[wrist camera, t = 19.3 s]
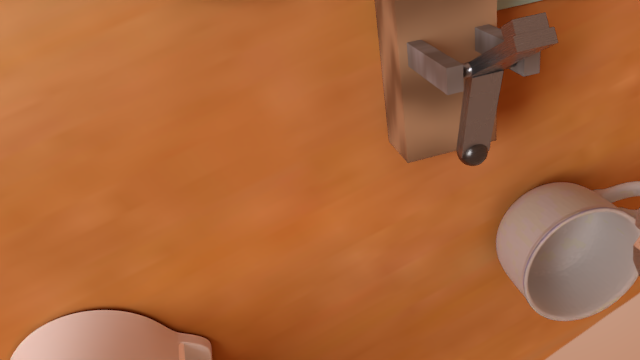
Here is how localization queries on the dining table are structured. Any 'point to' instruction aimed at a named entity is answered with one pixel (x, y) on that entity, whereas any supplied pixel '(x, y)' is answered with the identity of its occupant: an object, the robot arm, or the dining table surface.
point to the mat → (512, 3)
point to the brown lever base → (433, 68)
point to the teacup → (570, 248)
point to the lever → (495, 82)
